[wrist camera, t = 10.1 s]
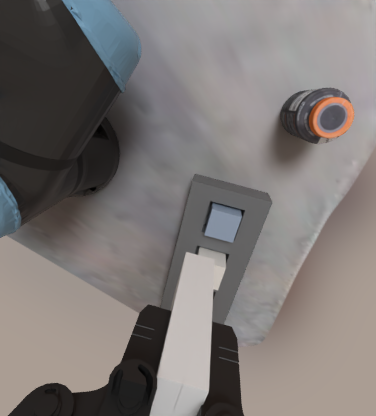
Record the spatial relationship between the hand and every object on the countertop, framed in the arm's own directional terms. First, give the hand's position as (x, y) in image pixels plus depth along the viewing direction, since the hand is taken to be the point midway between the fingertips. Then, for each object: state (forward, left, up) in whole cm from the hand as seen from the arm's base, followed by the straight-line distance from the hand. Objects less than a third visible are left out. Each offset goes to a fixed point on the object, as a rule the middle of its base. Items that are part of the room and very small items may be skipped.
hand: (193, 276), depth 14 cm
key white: (+4, -16, -26) cm, 31 cm away
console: (+4, -16, -29) cm, 34 cm away
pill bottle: (+10, +10, -30) cm, 33 cm away
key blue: (+4, -8, -28) cm, 29 cm away
